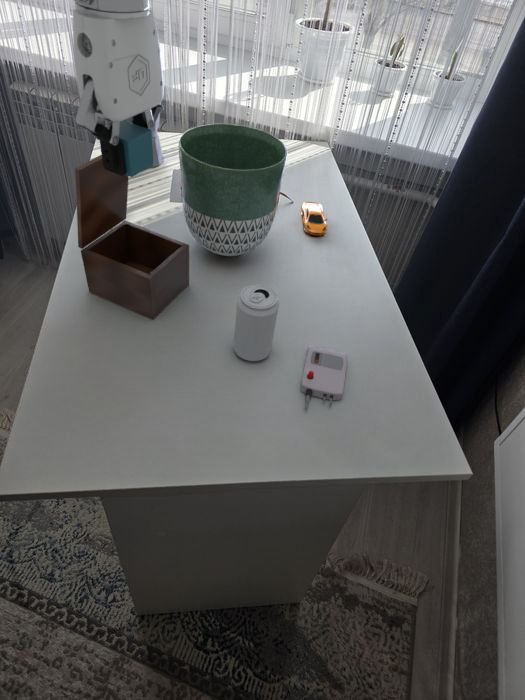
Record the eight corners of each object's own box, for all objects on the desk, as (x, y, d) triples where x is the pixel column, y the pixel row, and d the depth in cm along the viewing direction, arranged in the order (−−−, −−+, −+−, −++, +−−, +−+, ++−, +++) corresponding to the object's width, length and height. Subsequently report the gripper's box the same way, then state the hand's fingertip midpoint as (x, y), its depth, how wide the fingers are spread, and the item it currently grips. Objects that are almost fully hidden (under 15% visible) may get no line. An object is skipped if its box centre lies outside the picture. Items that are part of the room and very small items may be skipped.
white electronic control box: (346, 349, 81) (350, 337, 79) (338, 420, 71) (343, 409, 68) (309, 340, 82) (312, 328, 80) (295, 410, 71) (298, 398, 69)
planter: (175, 270, 91) (173, 164, 76) (184, 218, 105) (183, 118, 89) (274, 278, 93) (291, 175, 78) (270, 225, 107) (284, 129, 91)
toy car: (303, 237, 105) (305, 223, 102) (298, 209, 113) (300, 196, 111) (328, 239, 105) (331, 225, 103) (321, 211, 114) (324, 198, 111)
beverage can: (277, 347, 80) (288, 293, 71) (257, 370, 76) (265, 315, 67) (246, 331, 82) (253, 276, 73) (225, 352, 78) (229, 296, 69)
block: (131, 177, 59) (128, 141, 56) (103, 166, 61) (98, 130, 57) (153, 165, 62) (151, 129, 59) (126, 154, 64) (122, 119, 60)
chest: (189, 284, 89) (189, 244, 83) (153, 320, 81) (149, 279, 75) (129, 260, 92) (124, 219, 86) (88, 291, 84) (80, 250, 78)
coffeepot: (177, 162, 123) (175, 88, 110) (153, 174, 117) (148, 97, 104) (132, 144, 128) (125, 70, 115) (107, 155, 122) (97, 78, 109)
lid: (130, 143, 75) (126, 141, 75) (79, 170, 67) (74, 167, 67) (126, 218, 85) (122, 216, 85) (82, 249, 78) (78, 247, 78)
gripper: (80, 12, 42) (107, 199, 55) (188, -8, 53) (189, 151, 66) (18, -6, 44) (58, 179, 57) (135, -22, 55) (146, 136, 68)
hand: (128, 163), depth 61 cm, fingers closed on block, 4 cm apart
